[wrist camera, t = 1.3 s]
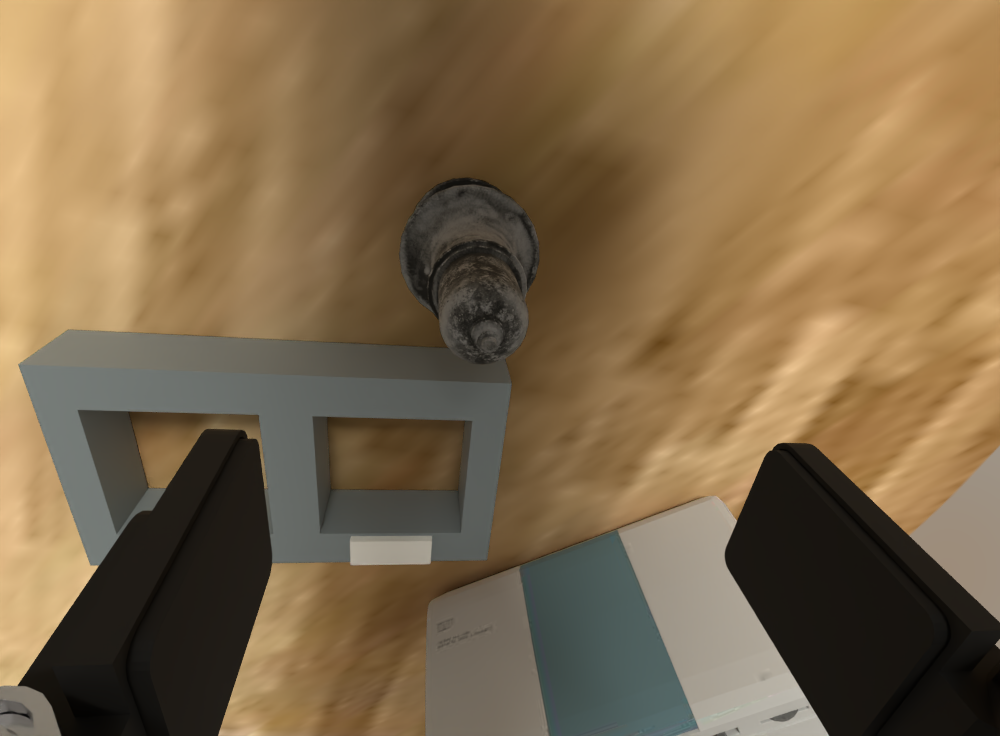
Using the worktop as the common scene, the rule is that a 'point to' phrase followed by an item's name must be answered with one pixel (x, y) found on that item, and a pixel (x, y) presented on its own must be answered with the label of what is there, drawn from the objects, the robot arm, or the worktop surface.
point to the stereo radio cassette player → (613, 642)
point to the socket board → (274, 435)
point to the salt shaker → (472, 266)
